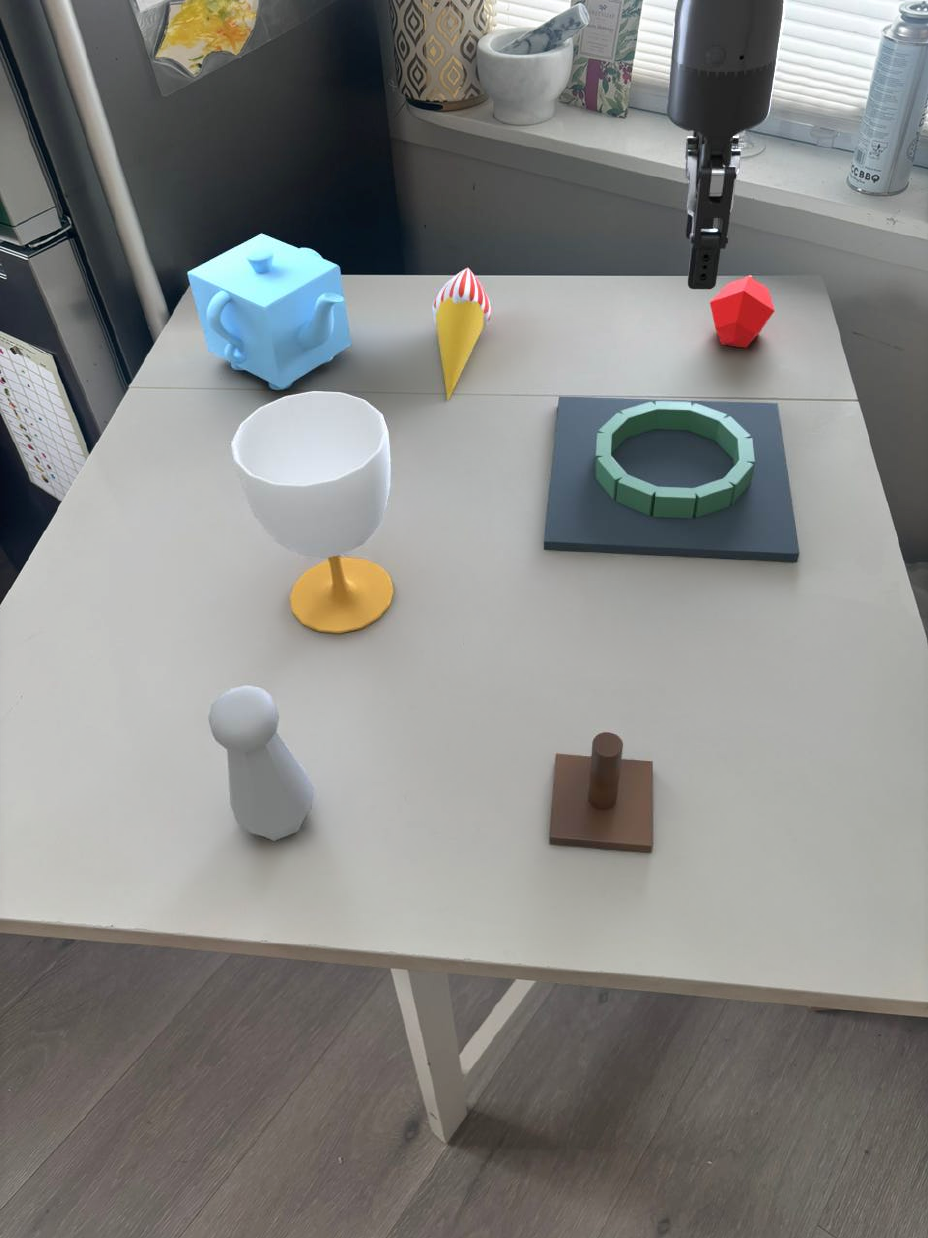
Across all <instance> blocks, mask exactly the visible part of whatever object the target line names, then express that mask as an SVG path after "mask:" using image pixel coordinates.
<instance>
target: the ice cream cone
mask: <svg viewBox="0 0 928 1238" xmlns="http://www.w3.org/2000/svg"><path fill="white" fill-rule="evenodd" d="M431 310H432V314H433V316H432V317H433V318H432V319H433V321H434V324H435V325H436V332H437V338H438V339H437V340H438V345H439V353H440V359H441V366H442V373H443V380H444V386H445V394H446V401H447V402H449V400H450V398H451V396H452V394H453V391H454V390H455V387H456V385H457V383H458V381H459V380H460V377H461V375H462V373H463V370H464V369H465V366H466V364H467V362H468V360H469V359H470V356H471V354H472V352H473V350H474V348H475V346H476V345H477V342H478V339H479V338H480V336H481V333H482V331H483V330H484V329H485V328H486V327H487V325H488V324H489V322H490V320H491V314H492V312H491V311H492V310H491V302H490V299H489V297H488V295H487V293H486V291H485V289H484V287H483V285H482V284H481V282H480V281H479V279H478V278H477V276H476V275H475V274H474V273H473V271H472V270H471V269H470V268H469V267H466V268H464V269H463V270H461V271H459V272H458V273H456V274H455V275H454V276H453V277H452V278H450V280H448V281H447V282H446V283H445V284H444V285H443V286H442V287H441V289H440V290H439V291H438V292H437V294H436V296H435V299H434V301H433V303H432V309H431Z"/></svg>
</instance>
